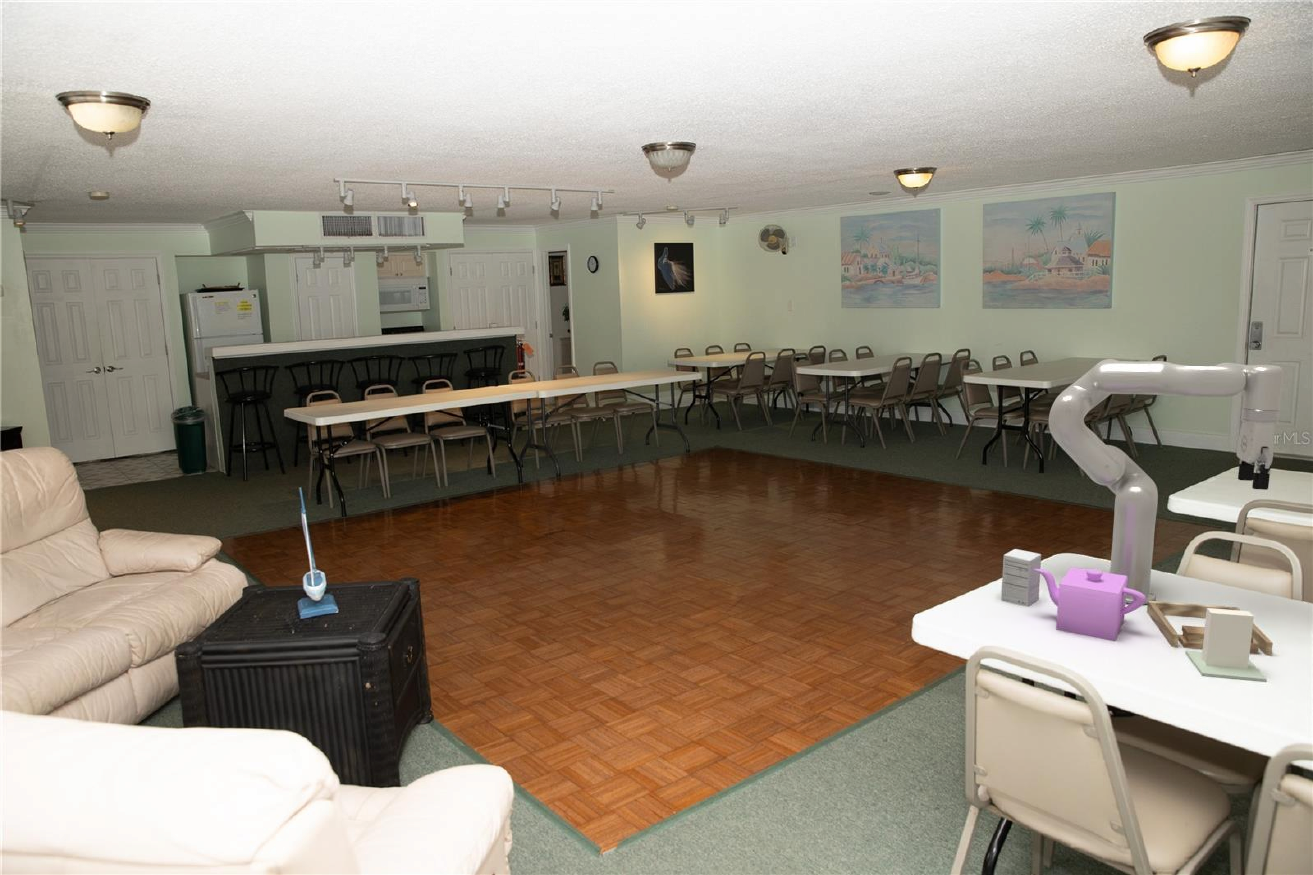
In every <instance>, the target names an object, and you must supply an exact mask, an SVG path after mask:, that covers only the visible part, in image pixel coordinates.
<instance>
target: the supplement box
mask: <svg viewBox="0 0 1313 875" xmlns="http://www.w3.org/2000/svg"><path fill="white" fill-rule="evenodd" d="M1002 558H1003V561H1002V575H1001V576H1002V579H1001V580H1002V582H1001V597H1000V599H1001V600H1002V601H1005V602H1009V603H1013V604H1017V605H1021V606H1025V607H1029V606H1031V604H1033V603H1035V602H1037V601H1038V600H1039V599H1040V584H1041V581H1040V580H1041V574H1040V573H1039V572H1037V571H1036V570H1035V569H1042V568H1041V564H1042V554H1041V553H1038V552H1032V551H1027V550H1022V549H1019V548H1018V549H1017V548H1014V549H1012V550H1010V551H1008V552H1007V553H1005V554H1003V557H1002Z"/></svg>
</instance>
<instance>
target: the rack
mask: <svg viewBox="0 0 1313 875" xmlns="http://www.w3.org/2000/svg"><path fill="white" fill-rule="evenodd" d="M1207 608H1213V609H1226V610H1239V611H1242V610H1241V609H1240V608H1239V607H1237V606H1235V607H1234V606H1225V605H1224V606H1223V605H1210V604H1194V603H1183V602H1171V601H1170V602H1169V601H1160V600H1159V601H1156V600H1155V601H1148V604H1147V610H1146V613H1147V614H1148V616H1149V618H1151V619H1152V621H1153V623H1154V624H1155V625H1156V627H1157V628H1158V629H1159V631H1160V633H1162V635H1163V637H1164V638H1165V639H1166V641H1167V642H1168V644H1169V645H1170V646H1171V647H1172V648H1178V645H1179V641H1178V637H1179V635H1180V634H1178V632H1177V630H1176V629H1175V628H1174V627H1173V626H1172V624H1171V623H1170V622H1169V620H1168V619H1167V618H1166V616H1175V617H1186V618H1187V617H1188V618H1199V619H1206V611H1207ZM1252 637H1253V638H1254V639H1255V640H1256V641H1257V642H1258V644H1259V647H1258V649H1259V651H1261V652H1262V654H1264V656H1272V653H1273V641H1272V640H1271V639H1270V638H1268V637H1267V636H1266V634H1265V633H1263V631H1262V630H1261V629H1260V628H1259V627H1258V626H1257V625H1255V623H1254V622H1253V627H1252Z"/></svg>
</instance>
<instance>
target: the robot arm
mask: <svg viewBox="0 0 1313 875" xmlns="http://www.w3.org/2000/svg"><path fill="white" fill-rule="evenodd" d="M1284 375H1285V374H1284V369H1283V368H1282V367H1281V366H1279V365H1273V364H1271V365H1270V364H1253V365H1251V364H1250V365H1249V364H1240V363H1234V362H1222V363H1218V364H1215V365H1213V366H1211V365H1209V366H1208V365H1207V366H1205V365H1204V366H1201V365H1199V366H1198V365H1184V364H1176V363H1172V362H1169V361H1163V360H1162V361H1161V360H1151V361H1149V360H1146V361H1145V360H1144V361H1143V360H1141V361H1137V360H1136V361H1135V360H1130V361H1128V360H1118V359H1114V358H1107V359H1102V360H1101V361H1099V362H1097V364H1095V365H1094V366H1093V367H1092V368H1090V369H1089V371H1087V372H1086V373H1084V374H1083V375H1082V376H1081V377H1079V378H1078V379H1077V380H1076V381H1074V382H1073V383H1072V384H1071V385H1069V386H1068V387H1067V388H1065V389H1064V390H1062V391H1061V393H1060V394H1059V395H1057V397H1056V398H1055V400H1054V402H1053V403H1052V405H1051V409H1050V411H1049V416H1048V428H1049V432H1050V434H1051V437H1052V438H1053V439H1054V441H1055V442H1056V443H1057V445H1059V447H1060V448H1061V449H1062V451H1064V452H1065V453H1066V454H1067V455H1068V456H1069V457H1070V458H1071V459H1072V460H1073V461H1074V463H1076V464H1077V466H1079V468H1081V469H1082V470H1083V471H1084V472H1085V474H1086V475H1087V476H1088V477H1089V479H1091V480H1092V481H1093V482H1094V483H1096V484H1098V485H1101V486H1106V487H1107V488H1108V489H1109V490H1110V491H1111V492H1112V493H1113V494H1114V495H1115V500H1114V514H1113V515H1114V517H1113V528H1112V546H1111V553H1110V554H1111V557H1110V570H1109V573H1112V574H1118V575H1124V576H1127V577H1128V579H1127V588H1129V589H1133V590H1136V591H1139V592H1141V593H1142V594H1144V595H1145V597H1146V601H1145V603H1144V604H1143V605H1148V601H1156V598H1157V597H1156V594H1155V593H1154V592H1153V591H1151V588H1150V587H1151V585H1150V584H1151V577H1152V564H1153V553H1154V541H1155V529H1156V521H1157V520H1156V519H1157V513H1158V502H1159V501H1158V499H1159V495H1158V487H1157V485H1156V483H1155V482H1154V480H1153V479H1152V478H1151V477H1150V476H1149V475H1148V474H1147V472H1145V471H1144V470H1143V469H1142V468H1141V467H1140V466H1139V465H1138V464H1137V463H1136V462H1135V461H1134V460H1133V459H1132V458H1130V457H1129V455H1128V454H1126V452H1124V451H1123V450H1122V449H1121V448H1119V447H1117V446H1114V445H1111V444H1105V443H1104V442H1103V441H1102V440H1101V439H1100V437H1098V436H1097V434H1096V433H1094V431H1092V430H1091V429H1090V428H1089V427H1088V426H1087V425H1086V424H1085V420H1084V419H1085V417H1086V416H1087V415H1088V413H1089V412H1090V411H1091V410H1092V409H1093V408H1095V407H1096V406H1098V405H1099V404H1100V403H1101V402H1103V401H1104V400H1106V399H1107V398H1108V397H1109V396H1111V395H1113V394H1114V395H1115V394H1116V395H1118V394H1119V395H1156V396H1157V395H1159V396H1176V397H1177V396H1178V397H1180V396H1181V397H1195V398H1197V397H1201V398H1206V397H1207V398H1228V397H1229V398H1230V397H1234V396H1236V395H1238V394H1240V393H1241V392H1243V398H1242V408H1241V416H1240V417H1241V418H1240V421H1241V425H1240V430H1239V434H1238V441H1237V448H1236V457H1237V458H1238V459H1239V461H1238V462H1239V464H1238V475H1237V480H1239V481H1246V482H1247V481H1250V482H1252V487H1251V488H1252V489H1253V490H1264V491H1266V490H1268V489H1269V484H1270V477H1271V476H1270V475H1271V472H1272V470H1271V469H1272V463H1273V458H1274V450H1275V435H1276V434H1275V431H1276V430H1275V429H1276V428H1275V425H1278V424H1279V417H1280V411H1281V401H1282V393H1283V384H1284ZM1133 600H1134V597H1133V596H1132V595H1129V594H1126V603H1125V604H1128V605H1129V604H1130V603H1131V602H1132V601H1133Z"/></svg>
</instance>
